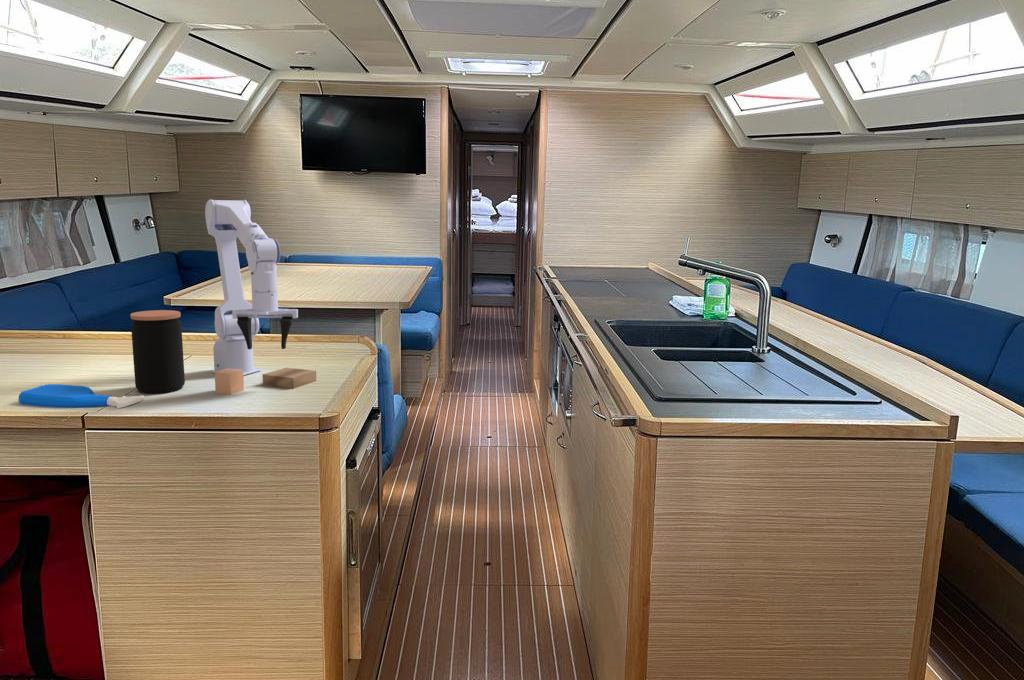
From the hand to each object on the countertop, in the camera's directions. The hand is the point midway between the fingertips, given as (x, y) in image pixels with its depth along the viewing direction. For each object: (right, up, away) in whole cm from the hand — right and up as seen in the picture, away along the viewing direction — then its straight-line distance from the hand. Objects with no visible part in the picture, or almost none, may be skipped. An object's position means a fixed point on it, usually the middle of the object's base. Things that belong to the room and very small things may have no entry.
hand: (266, 348), depth 182 cm
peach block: (-8, -10, -2) cm, 13 cm away
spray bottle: (-36, -12, -13) cm, 40 cm away
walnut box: (+3, -9, +7) cm, 12 cm away
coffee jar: (-25, -10, -1) cm, 27 cm away
